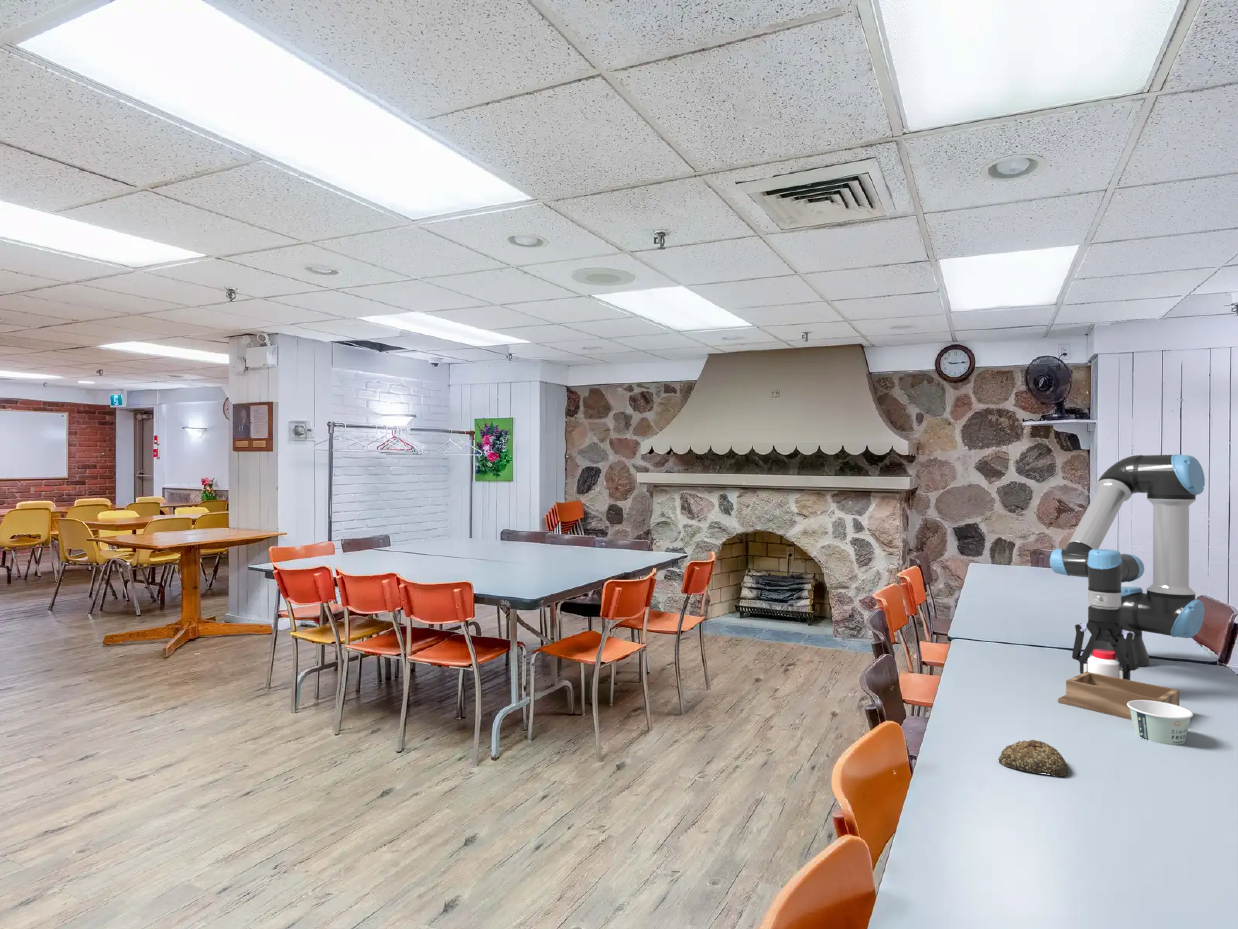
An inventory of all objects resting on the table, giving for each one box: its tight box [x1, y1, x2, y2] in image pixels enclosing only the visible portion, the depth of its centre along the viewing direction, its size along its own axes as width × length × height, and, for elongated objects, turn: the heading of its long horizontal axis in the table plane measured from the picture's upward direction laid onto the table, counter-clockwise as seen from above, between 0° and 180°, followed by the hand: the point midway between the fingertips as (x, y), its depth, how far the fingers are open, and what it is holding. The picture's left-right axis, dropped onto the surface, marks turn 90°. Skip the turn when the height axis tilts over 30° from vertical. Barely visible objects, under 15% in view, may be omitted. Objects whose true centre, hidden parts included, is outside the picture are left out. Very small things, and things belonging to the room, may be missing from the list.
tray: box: [1057, 672, 1180, 721], centre depth 182 cm, size 14×24×6 cm, turn 38°
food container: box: [1127, 700, 1194, 746], centre depth 163 cm, size 12×12×6 cm
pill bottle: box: [1087, 649, 1122, 678], centre depth 196 cm, size 8×8×11 cm
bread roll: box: [997, 739, 1069, 777], centre depth 149 cm, size 13×12×5 cm
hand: (1104, 690), depth 196 cm, fingers closed on pill bottle, 8 cm apart
